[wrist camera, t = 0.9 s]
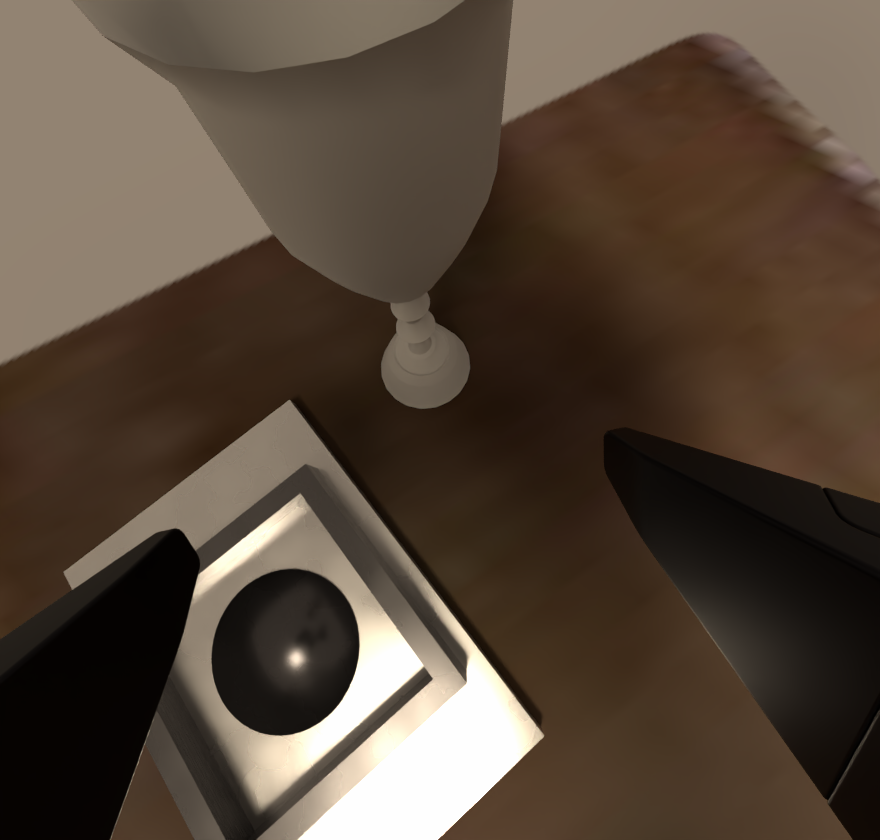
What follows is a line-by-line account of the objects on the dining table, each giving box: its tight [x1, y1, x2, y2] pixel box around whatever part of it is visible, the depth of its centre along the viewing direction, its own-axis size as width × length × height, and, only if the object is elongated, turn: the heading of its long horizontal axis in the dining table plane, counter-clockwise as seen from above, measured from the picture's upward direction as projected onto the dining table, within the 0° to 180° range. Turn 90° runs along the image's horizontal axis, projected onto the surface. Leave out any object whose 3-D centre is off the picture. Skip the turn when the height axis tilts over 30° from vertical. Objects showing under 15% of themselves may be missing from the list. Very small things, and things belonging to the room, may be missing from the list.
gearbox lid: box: [64, 400, 544, 840], centre depth 19 cm, size 20×14×2 cm
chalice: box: [72, 0, 513, 409], centre depth 14 cm, size 7×7×18 cm
